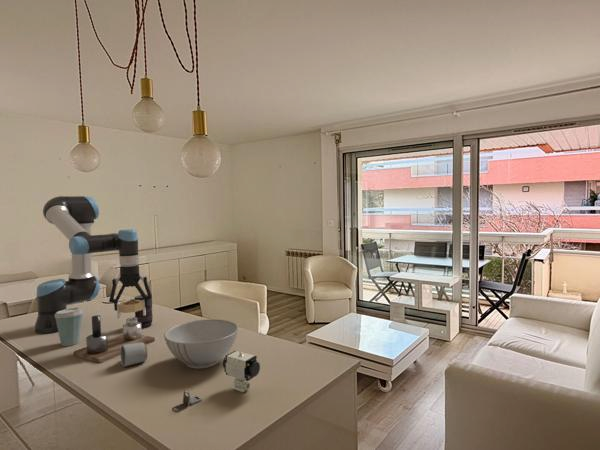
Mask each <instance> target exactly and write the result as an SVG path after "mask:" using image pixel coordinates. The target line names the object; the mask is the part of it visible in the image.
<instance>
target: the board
mask: <svg viewBox="0 0 600 450" xmlns="http://www.w3.org/2000/svg"><path fill="white" fill-rule="evenodd" d="M155 340H156V339H155V337H152V336H149V335H145V334H142V337H141V338H140V339H138V340H134V341H124V340H123V333H122V334H119V335H117V336H112V337H111V338H108V350H107V351H106V352H104V353H101V354H96V355H89V354H87V346H85V347H82V348H80V349H76V350H73V356H75V357H80V358H81V359H86V360H89V361H92V362H95V363H99V364H102V363H104V362H106V361H109V360H111V359H113V358H117V357H118V356H121V347H122V345H127V344H134V343H145V344H146V345H148V344H151V343H153V342H155Z"/></svg>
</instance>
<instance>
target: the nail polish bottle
mask: <svg viewBox="0 0 600 450" xmlns="http://www.w3.org/2000/svg"><path fill="white" fill-rule="evenodd" d="M101 325H102V324H101V315H98V314H97V315H92V316H91V331H92V333H91V335H90V334H89V335H87V336H86V337H85V338H86V339H85V341H86V342H85V343H86V344H85V345H86V347H87V354H89V355H96V354H101V353H104V352H106V351H107V350H108V339H109V338H108V334H107V333H106V332H102V326H101Z"/></svg>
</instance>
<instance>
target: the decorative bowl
mask: <svg viewBox="0 0 600 450" xmlns="http://www.w3.org/2000/svg"><path fill="white" fill-rule="evenodd" d="M238 332H239V326H238V324H237V323H235V322H234V321H232V320H231V321H230V320H227V319H218V318H207V319H206V318H205V319H197V320H196V319H195V320H191V321H186V322H183V323H180V324H176V325H173V326H172V327H170V328H169V329H167V330H166V331H165V333H164V334H163V339H164V342H165V344H166V346H167V348H168V350H169V351H170V353H171V354H172V355H173V356H174V357H175V358H176V359H177V360H179V361H180V362H182V363H184V364H185V365H186V367H188V368H191V369H197V370H198V369H199V370H200V369H206V368H211V367H213V366H215V365H217V364H219V363H220V361H221V359H222V358H225V356H226V355H228V354H229V352H230V351H231V349H232V348H233V346H234V344H235V341H237V338H238V337H237V336H238Z"/></svg>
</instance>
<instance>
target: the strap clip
mask: <svg viewBox="0 0 600 450" xmlns="http://www.w3.org/2000/svg"><path fill="white" fill-rule="evenodd" d="M202 401H203V400H202V398H201V397H200V396H197V395H196V396H192V397H191V393H190V392H189V391H187V390H184V391H183V398H182V403H180V404H177V405H175V406H174V407H171V410H172V411H174V412H175V413H177V412H178V413H179V412H182V411H183V410H186V409H187V408H188V407H189V406H193V405H196V404H199V403H200V402H202ZM176 409H177V410H176Z"/></svg>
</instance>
